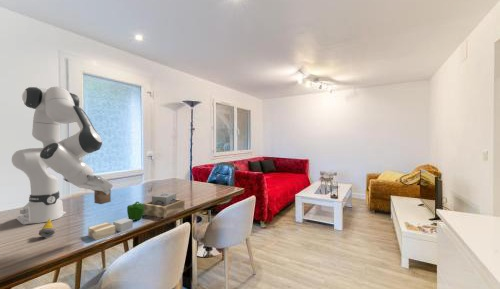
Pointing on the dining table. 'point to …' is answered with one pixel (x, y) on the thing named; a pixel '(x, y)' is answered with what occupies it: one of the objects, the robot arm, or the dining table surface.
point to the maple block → (101, 230)
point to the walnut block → (102, 197)
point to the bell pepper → (135, 211)
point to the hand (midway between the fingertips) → (103, 192)
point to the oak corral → (163, 208)
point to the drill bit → (47, 230)
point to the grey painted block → (123, 224)
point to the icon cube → (164, 199)
